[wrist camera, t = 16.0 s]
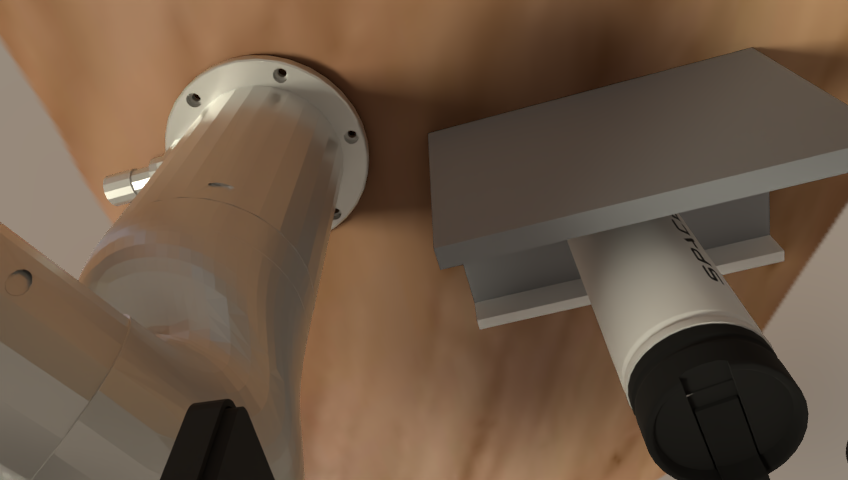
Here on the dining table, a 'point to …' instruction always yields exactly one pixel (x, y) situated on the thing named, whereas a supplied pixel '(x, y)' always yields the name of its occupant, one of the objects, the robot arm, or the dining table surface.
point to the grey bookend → (627, 175)
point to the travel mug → (689, 354)
